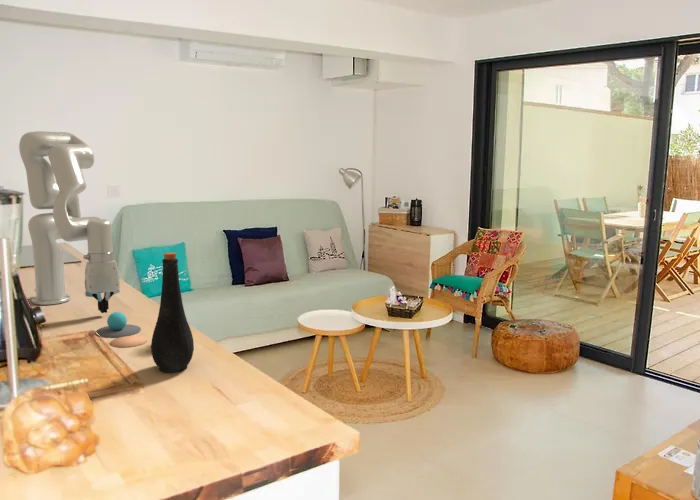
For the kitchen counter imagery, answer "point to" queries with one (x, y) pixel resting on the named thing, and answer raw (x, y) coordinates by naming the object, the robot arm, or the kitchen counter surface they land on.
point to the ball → (117, 321)
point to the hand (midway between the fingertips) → (103, 311)
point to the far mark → (128, 341)
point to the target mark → (118, 331)
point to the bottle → (171, 323)
